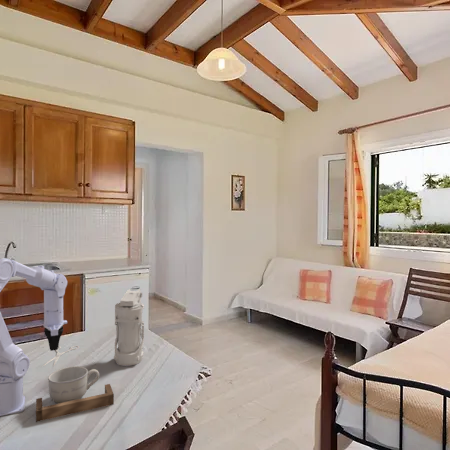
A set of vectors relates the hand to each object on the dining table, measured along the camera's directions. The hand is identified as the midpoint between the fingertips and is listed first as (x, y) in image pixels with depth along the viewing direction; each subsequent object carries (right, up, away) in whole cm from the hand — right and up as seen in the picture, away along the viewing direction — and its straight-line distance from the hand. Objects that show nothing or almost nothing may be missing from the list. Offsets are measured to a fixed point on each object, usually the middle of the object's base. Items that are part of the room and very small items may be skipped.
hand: (53, 349), depth 118 cm
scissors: (-7, -9, +17) cm, 21 cm away
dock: (+14, -11, -16) cm, 24 cm away
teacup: (+12, -11, -12) cm, 20 cm away
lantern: (+21, -9, +16) cm, 28 cm away
